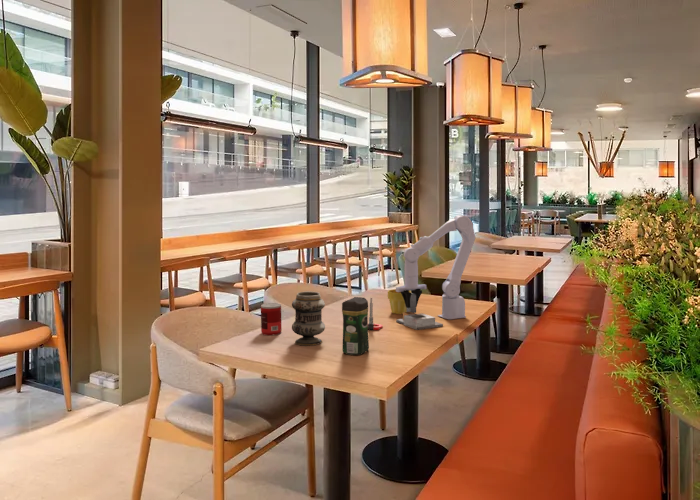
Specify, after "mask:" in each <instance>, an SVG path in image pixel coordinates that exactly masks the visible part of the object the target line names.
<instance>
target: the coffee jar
mask: <svg viewBox="0 0 700 500" xmlns="http://www.w3.org/2000/svg"><path fill="white" fill-rule="evenodd" d="M341 312H342V313H341V314H342V352H343V353H344V354H346V355H349V356H354V355H357V356H358V355H362V354H365V353H366V352H368V351H369V349H370V342H369V330H368V323H369V316H368V315H369V302H368V300H367V299H366V298H365V297H361V296H353V297H352V298H350V299H347V300H344V301H342V303H341Z"/></svg>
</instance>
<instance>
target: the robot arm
mask: <svg viewBox="0 0 700 500" xmlns="http://www.w3.org/2000/svg"><path fill="white" fill-rule="evenodd" d="M457 231H458V233H459V234H460V236H461V239H462V240H461V243H460V245H459V248H458V250H457V253H456V256H455V259H454V262H453V265H452V267H451V270H450V273H448V275H447V278H446V279H445V280H444V281H443V283H442V285H441V289H442V292H443V294H442V296H441V299H442V301H441V305H442V306H441V314H437V317H440V318H443V319H445V320H456V319H464V318H466V317H467V316H466V300H465V298H464V297H463V296H461V295H459V294H460V293H461V282H462V276H463V273H464V271H465V268H466V265H467V262H468V260H469V257H470V255H471V251H472V248H473V246H474V243H475V240H476V235H475V229H474V224H473V222H472V220H471V219H470V218H469V216H467V215H462V214H457V215H455V216H454V217H453V218H451V219H448V221H446V222H445V223H444V224H442V225H441V226H440V227H439V228H438V229H437V230H436V229H435V231H434V232H432V233H431V234H430V235H429V236H426V235H424V236H420V237H419V240H418V241H416V242H415V243H414V244H410V247H407V248H406V249H404V253H403V257H404V285H401V286H396V287H395V289H396V292H401V294H402V296H403V299H404V301H405V305H406V307H407V308H410V298H411V293H413V294H416V308H417V306H418V304H419V300H420V297H421V295H422V294H423V290H427V284H425V283H424V284H419V264H418V260H419V258H420V256H423V254H424V255H425V253H426V252H428V251H429V250H431V248H433V247H434V243H435V242H436V241H437V240H439V239H441V238H442V237H443V236H444V235H446V234H448V233H450V232H457ZM409 291H411V293H410V292H409Z"/></svg>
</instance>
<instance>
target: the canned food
mask: <svg viewBox="0 0 700 500" xmlns="http://www.w3.org/2000/svg"><path fill="white" fill-rule="evenodd" d="M282 329H283V328H282V304H280V303H278V302H267V303H262V304H261V305H260V331H261V334H262V335H263V336H264V335H265V336H276V335H280V334H281V333H282Z"/></svg>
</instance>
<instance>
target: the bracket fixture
mask: <svg viewBox="0 0 700 500" xmlns="http://www.w3.org/2000/svg"><path fill="white" fill-rule="evenodd" d="M395 322H396V323H399V324H401V325H404V326H405V327H407V328H410V329H413V330H415V331H420V330H421V331H422V330H428V329H437V328H440V327H441V328H442V327H444V324H443V323H441V322H437V321H436V316H431V315H430V314H426V313H422V312H421V313H412V312H403V314H402V318H398V319H396V320H395Z"/></svg>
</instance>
